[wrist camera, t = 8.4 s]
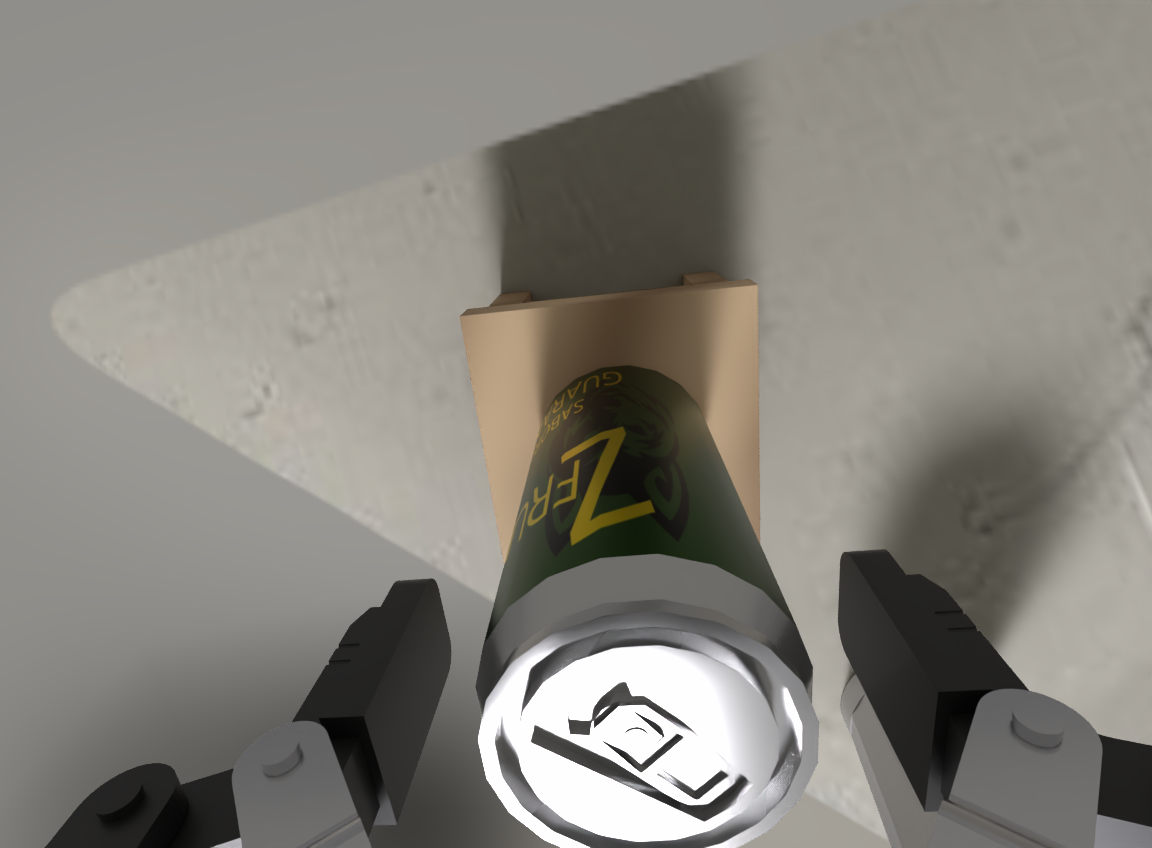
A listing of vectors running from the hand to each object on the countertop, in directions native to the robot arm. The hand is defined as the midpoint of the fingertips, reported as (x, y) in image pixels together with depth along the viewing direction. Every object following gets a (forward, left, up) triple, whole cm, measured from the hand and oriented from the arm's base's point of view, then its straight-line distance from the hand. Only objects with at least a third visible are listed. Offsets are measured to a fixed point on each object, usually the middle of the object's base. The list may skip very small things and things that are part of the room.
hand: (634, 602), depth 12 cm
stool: (0, 0, -14) cm, 14 cm away
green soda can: (0, 0, -9) cm, 9 cm away
